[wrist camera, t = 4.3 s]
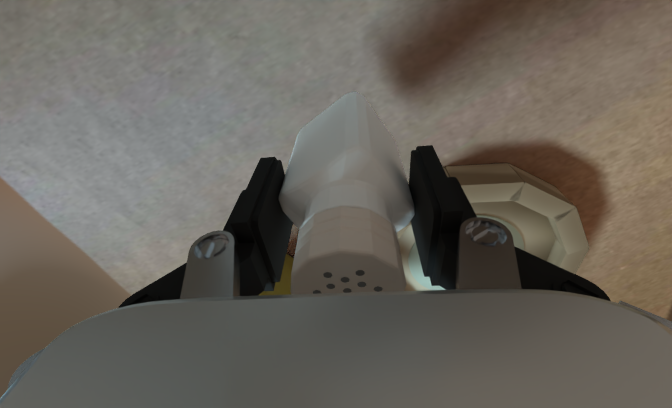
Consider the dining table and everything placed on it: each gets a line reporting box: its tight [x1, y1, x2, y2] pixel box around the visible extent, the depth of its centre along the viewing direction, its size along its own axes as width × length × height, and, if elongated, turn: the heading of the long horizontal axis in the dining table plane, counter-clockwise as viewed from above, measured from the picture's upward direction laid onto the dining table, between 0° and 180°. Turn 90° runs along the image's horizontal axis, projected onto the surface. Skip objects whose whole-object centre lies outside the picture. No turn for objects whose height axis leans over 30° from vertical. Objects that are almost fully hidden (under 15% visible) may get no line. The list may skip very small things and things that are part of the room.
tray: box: [397, 163, 589, 291], centre depth 24 cm, size 16×16×3 cm
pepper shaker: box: [279, 91, 415, 294], centre depth 12 cm, size 4×4×10 cm
